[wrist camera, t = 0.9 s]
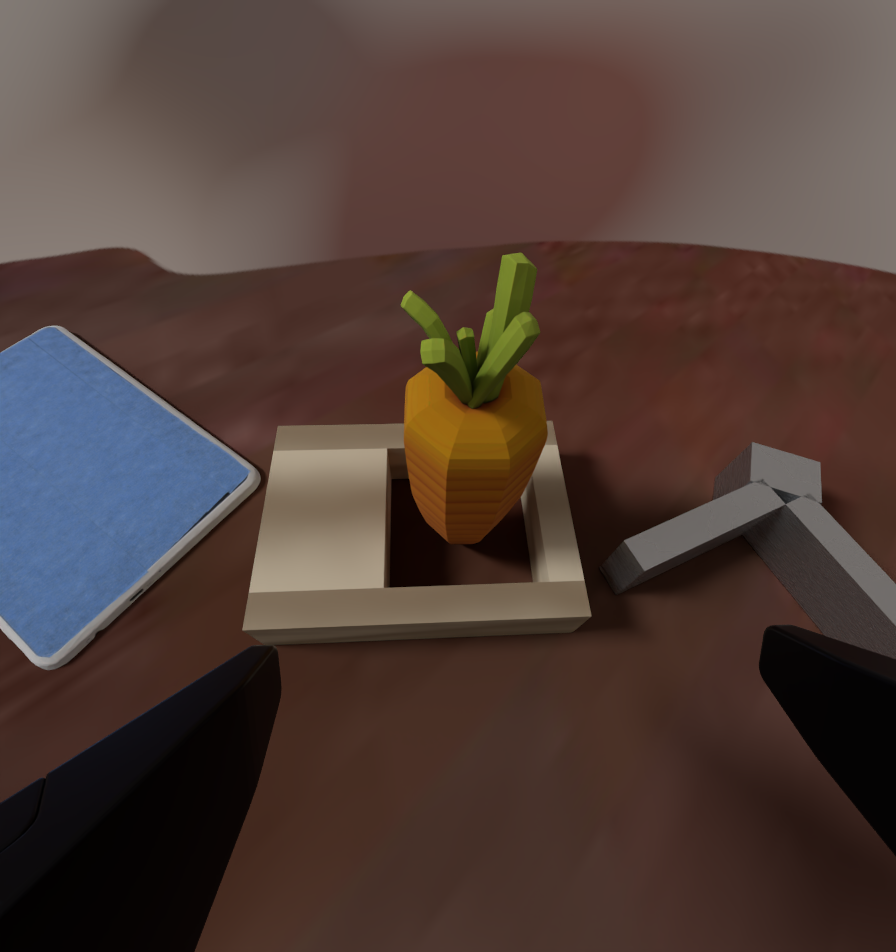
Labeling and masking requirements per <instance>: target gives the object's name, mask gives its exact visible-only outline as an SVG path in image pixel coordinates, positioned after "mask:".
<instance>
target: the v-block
mask: <svg viewBox="0 0 896 952" xmlns="http://www.w3.org/2000/svg"><path fill="white" fill-rule="evenodd" d="M821 503H822V493H821V470H820V462H817V461H814V460H811V459H807V458H804V457H800V456H797V455H794V454H790V453H787V452H784V451H780V450H777V449H774V448H770V447H767V446H764V445H760V444H757V443H753V442H752V443H751V444H750V445H749V446H748V447H747V448H746V449H745V450H743V451H742V452H741V453H740V454H739V455H738V456H737V457H736V458H735V459H734V460H733V461H732V462H731V463H730V464H729V465H728V466H727V467H726V468H725V469H724V470H723V471H722V472H721V473H720V474H719V475H718V476H716V477H715V486H714V496H713V501H711V502H709V503H706V504H704V505H702V506H700V507H697V508H695V509H693V510H691V511H689V512H686V513H684V514H682V515H680V516H677V517H675V518H673V519H671V520H669V521H666V522H664V523H662V524H660V525H657V526H655V527H653V528H651V529H649V530H646V531H644V532H642V533H640V534H637V535H635V536H633V537H631V538H629V539H626V540H624V541H623V542H622V543H621V544H620V545H619V546H618V548H617V549H616V550H615V551H614V552H613V553H612V554H611V555H610V556H609V557H608V558H607V560H606V561H605V562H604V563H603V564H602V565H601V566H600V567H599V569H600V570H601V572H602V574H603V575H604V577H605V578H606V580H607V581H608V583H609V585H610V586H611V588H612V589H613V591H614V593H615V594H616V595H617V594H619V593H622V592H624V591H626V590H628V589H630V588H632V587H634V586H636V585H638V584H640V583H642V582H644V581H646V580H649V579H651V578H653V577H655V576H657V575H659V574H661V573H663V572H665V571H667V570H669V569H671V568H674V567H676V566H678V565H680V564H682V563H684V562H686V561H688V560H690V559H692V558H694V557H696V556H699V555H701V554H703V553H705V552H707V551H709V550H711V549H713V548H715V547H717V546H719V545H721V544H723V543H726V542H728V541H730V540H732V539H734V538H736V537H738V536H740V535H743V536H744V538H745V539H746V540H747V541H748V543H749V544H750V545H751V546H752V547H753V549H754V550H755V551H756V552H757V553H758V555H759V556H760V557H761V558H762V560H763V561H764V562H765V563H766V564H767V566H768V567H769V568H770V569H771V570H772V572H773V573H774V574H775V575H776V577H777V578H778V579H779V580H780V581H781V583H782V584H783V585H784V586H785V588H786V589H787V590H788V591H789V592H790V594H791V595H792V596H793V597H794V598H795V600H796V601H797V602H798V603H799V605H800V606H801V607H802V608H803V609H804V611H805V612H806V613H807V614H808V615H809V617H810V618H811V619H812V620H813V622H814V623H815V624H816V625H817V626H818V628H819V629H820V630H821V631H822V633H823V634H824V635H825V636H827V637H830V638H833V639H836V640H839V641H842V642H845V643H848V644H851V645H854V646H857V647H860V648H863V649H866V650H870V651H873V652H876V653H879V654H882V655H885V656H888V657H891V658H894V659H896V584H895V583H894V582H893V581H892V580H891V579H890V577H889V576H888V575H887V574H886V573H885V572H884V571H883V570H882V569H881V568H880V567H879V566H878V565H877V564H876V563H875V562H874V561H873V560H872V558H871V557H870V556H869V555H868V554H867V553H866V552H865V551H864V550H863V549H862V548H861V547H860V546H859V545H858V544H857V543H856V542H855V540H854V539H853V538H852V537H851V536H850V535H849V534H848V533H847V532H846V531H845V530H844V529H843V528H842V527H841V526H840V525H839V524H838V522H837V521H836V520H835V519H834V518H833V517H832V516H831V515H830V514H829V513H828V512H827V511H826V510H825V509H824V508H823V507H822V506H821V505H820V504H821ZM746 531H747V532H746Z"/></svg>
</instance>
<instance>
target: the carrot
mask: <svg viewBox="0 0 896 952" xmlns="http://www.w3.org/2000/svg"><path fill="white" fill-rule="evenodd" d="M536 273H537V268H536V267H535V266H534V265H533V264H532V263H531V262H530V261H529V260H528V259H527V258H526V257H525V256H524V255H523V254H522V253H516V254H509V255H502V261H501V267H500V272H499V278H498V284H497V290H496V297H495V305H494V309H492V310H491V311H489V312H487V314H486V318H485V323H484V327H483V331H482V335H481V340H480V344H479V350H478V352H476V350H475V342H474V335H473V330H472V329H471V328H461V329H460V330H459V331H457V332H456V333H457V338H458V344H459V349H458V348H457V347H456V346H455V345H454V344H453V343H452V341H451V339H450V336H449V334H448V332H447V331H446V329H445V327H444V325H443V324H442V322H441V320H440V318H439V317H438V315H437V313H436V312H435V311H434V310H433V309H432V308H431V307H430V306H429V305H428V304H427V303H426V302H425V301H424V300H423V299H421V298H420V297H419V296H417V295H416V294H415V293H413V292H412V291H411V290H410V291H409V292H408V293H407V294H406V295H405V296H404V297H403V301H402V303H401V307H402V308H403V309H404V310H405V311H406V312H407V313H408V315H409V316H410V317H411V318H412V319H413V320H415V321H416V322H417V323H418V324H419V325H420V326H421V327H422V328H423V330H424V331H425V333H426V334H427V335H428V337H429V338H430V339H427V340H423V341H422V342H421V351H420V352H421V358H422V363H423V364H424V365H425V366H426V368H425V369H423V370H422V371H421V372H419V373H418V374H416V375H415V376H414V377H412V378H411V379H410V380H408V383H407V386H406V392H405V417H404V447H405V455H406V462H407V469H408V475H409V480H410V485H411V490H412V495H413V497H414V500H415V502H416V504H417V506H418V508H419V511H420V512H421V514H422V516H423V517H424V519H425V521H426V523H428V524H429V525H430V526H431V527H432V528H433V529H434V530H435V531H436V532H437V533H439V534H440V535H441V536H442V537H443V538H444V539H445V540H446V541H447V542H449V543H450V544H474V543H478V542H480V541H481V540H482V539H483V538H484V537H485V536H486V535H487V534H488V533H489V532H490V531H491V530H492V529H493V528H494V527H495V526H496V525H497V524H498V523H499V522H500V521H501V520H502V519H503V517H504V516H505V515H506V514H507V513H508V512H509V511H510V510H511V509H512V507H513V506H514V505H515V503H516V502H517V501H518V500H519V498H520V497H521V496H522V494H523V492H524V490H525V488H526V486H527V484H528V482H529V480H530V478H531V476H532V474H533V472H534V469H535V467H536V465H537V462H538V460H539V458H540V455H541V453H542V450H543V448H544V446H545V443H546V441H547V436H548V430H547V422H546V415H545V409H544V403H543V396H542V390H541V384H540V381H539V380H538V379H536V378H535V377H533V376H532V375H530V374H529V373H527V372H526V371H525V370H523V369H522V368H520V367H519V366H517V365H516V364H517V363H518V362H519V360H520V359H521V358H522V357H523V355H524V354H525V353H526V352H527V351H528V349H529V348H530V346H531V345H532V344H533V342H534V341H535V339H536V338H537V337H538V335H539V334H540V330H539V326H538V323H537V320H536V319H535V318H534V317H533V316H532V315H531V314H530V313H529V308H530V305H531V301H532V295H533V290H534V284H535V279H536ZM459 350H460V351H459Z"/></svg>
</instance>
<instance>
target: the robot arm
mask: <svg viewBox="0 0 896 952" xmlns="http://www.w3.org/2000/svg"><path fill="white" fill-rule="evenodd" d="M759 670H760V674H761V676H762V678H763V680H764V682H765V683H766V685H767V686H768V688H769V689H770V690H771V692H772V693H773V695H774V696H775V698H776V699H777V701H778V702H779V704H780V705H781V707H782V708H783V710H784V711H785V712H786V714H787V715H788V717H789V718H790V720H791V721H792V723H793V724H794V726H795V727H796V729H797V730H798V731H799V733H800V734H801V736H802V737H803V739H804V740H805V742H806V743H807V745H808V746H809V747H810V749H811V750H812V752H813V753H814V754H815V756H816V757H817V759H818V760H819V761H820V763H821V764H822V765H823V766H824V768H825V769H826V770H827V772H828V773H829V774H830V775H831V777H832V778H833V779H834V780H835V782H836V783H837V784H838V785H839V787H840V788H841V789H842V790H843V791H844V793H845V794H846V795H847V796H848V798H849V799H850V800H851V801H852V803H853V804H854V805H855V806H856V808H857V809H858V810H859V811H860V813H861V814H862V815H863V816H864V818H865V819H866V820H867V821H868V823H869V824H870V825H871V826H872V828H873V829H874V830H875V831H876V833H877V834H878V835H879V836H880V837H881V839H882V840H883V841H884V842H885V844H886V845H887V846H888V847H889V849H890V850H891V851H892V852H893V854H894V855H895V856H896V659H894V658H891V657H888V656H885V655H882V654H879V653H876V652H873V651H870V650H866V649H863V648H860V647H857V646H854V645H851V644H848V643H845V642H842V641H839V640H836V639H833V638H830V637H827V636H824V635H821V634H818V633H815V632H812V631H809V630H806V629H803V628H800V627H797V626H793V625H772V626H769V627H767V628H766V630H765V631H764V635H763V641H762V648H761V654H760V660H759ZM280 698H281V677H280V667H279V658H278V651H277V648H276V647H275V646H274V645H254V646H250V647H249V648H247V649H246V650H244V651H242V652H241V653H239V654H238V655H236V656H234V657H233V658H231V659H230V660H228V661H226V662H225V663H223V664H222V665H220V666H218V667H217V668H215V669H214V670H212V671H210V672H209V673H207V674H206V675H204V676H202V677H201V678H199V679H198V680H196V681H194V682H193V683H191V684H190V685H188V686H186V687H185V688H183V689H182V690H180V691H178V692H177V693H175V694H174V695H172V696H171V697H169V698H167V699H166V700H164V701H163V702H161V703H159V704H158V705H156V706H155V707H153V708H151V709H150V710H148V711H147V712H145V713H143V714H142V715H140V716H139V717H137V718H135V719H134V720H132V721H131V722H129V723H127V724H126V725H124V726H123V727H121V728H119V729H118V730H116V731H115V732H113V733H111V734H110V735H108V736H107V737H105V738H103V739H102V740H100V741H99V742H97V743H95V744H94V745H92V746H91V747H89V748H88V749H86V750H84V751H83V752H81V753H80V754H78V755H76V756H75V757H73V758H72V759H70V760H68V761H67V762H65V763H64V764H62V765H60V766H59V767H57V768H56V769H54V770H52V771H51V772H49V773H48V774H47V776H46V779H45V778H39V779H38V780H36V781H35V782H33V783H31V784H30V785H28V786H27V787H25V788H24V789H22V790H20V791H19V792H17V793H16V794H14V795H12V796H11V797H9V798H8V799H6V800H4V801H3V802H1V803H0V952H194V951H195V949H196V946H197V944H198V941H199V938H200V936H201V933H202V930H203V928H204V925H205V923H206V920H207V917H208V915H209V912H210V909H211V907H212V904H213V902H214V899H215V896H216V894H217V891H218V888H219V886H220V883H221V881H222V878H223V875H224V873H225V870H226V867H227V865H228V862H229V860H230V857H231V854H232V852H233V849H234V846H235V844H236V841H237V839H238V836H239V833H240V831H241V828H242V825H243V823H244V820H245V817H246V815H247V812H248V810H249V807H250V804H251V802H252V799H253V796H254V793H255V790H256V787H257V784H258V781H259V777H260V774H261V770H262V766H263V763H264V759H265V755H266V751H267V747H268V744H269V740H270V736H271V732H272V729H273V725H274V721H275V717H276V714H277V710H278V706H279V702H280Z"/></svg>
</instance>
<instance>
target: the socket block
mask: <svg viewBox="0 0 896 952" xmlns="http://www.w3.org/2000/svg"><path fill="white" fill-rule="evenodd" d="M546 422H547V430H548V436H547V441H546V443H545V446H544V448H543V450H542V453H541V455H540V458H539V460H538V462H537V465H536V467H535V469H534V472H533V474H532V476H531V478H530V480H529V482H528V484H527V486H526V488H525V490H524V492H523V494H522V496H521V501H522V508H523V515H524V522H525V529H526V536H527V543H528V550H529V557H530V564H531V571H532V578H533V582H532V583H505V584H477V585H449V586H422V587H394V588H390V538H391V482H392V479H409V475H408V469H407V462H406V455H405V447H404V424H363V425H309V426H278V429H277V434H276V440H275V446H274V452H273V457H272V463H271V469H270V475H269V480H268V486H267V492H266V498H265V503H264V509H263V515H262V521H261V526H260V532H259V538H258V544H257V549H256V555H255V561H254V567H253V572H252V578H251V584H250V590H249V595H248V601H247V607H246V613H245V618H244V624H243V631H244V632H246V633H247V634H249V635H250V636H252V637H254V638H255V639H257V640H258V641H260V642H261V643H263V644H265V645H285V644H309V643H333V642H356V641H380V640H404V639H428V638H452V637H476V636H500V635H524V634H547V633H571V632H574V631H575V630H576V629H577V628H578V627H580V626H581V625H582V624H583V623H584V622H585V621H587V620H588V619H589V618H590V617H591V611H590V606H589V601H588V596H587V591H586V586H585V581H584V576H583V571H582V566H581V561H580V556H579V551H578V546H577V541H576V536H575V531H574V526H573V521H572V516H571V512H570V507H569V502H568V497H567V492H566V487H565V482H564V477H563V472H562V467H561V462H560V457H559V452H558V447H557V442H556V437H555V432H554V427H553V422H552V421H546Z"/></svg>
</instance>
